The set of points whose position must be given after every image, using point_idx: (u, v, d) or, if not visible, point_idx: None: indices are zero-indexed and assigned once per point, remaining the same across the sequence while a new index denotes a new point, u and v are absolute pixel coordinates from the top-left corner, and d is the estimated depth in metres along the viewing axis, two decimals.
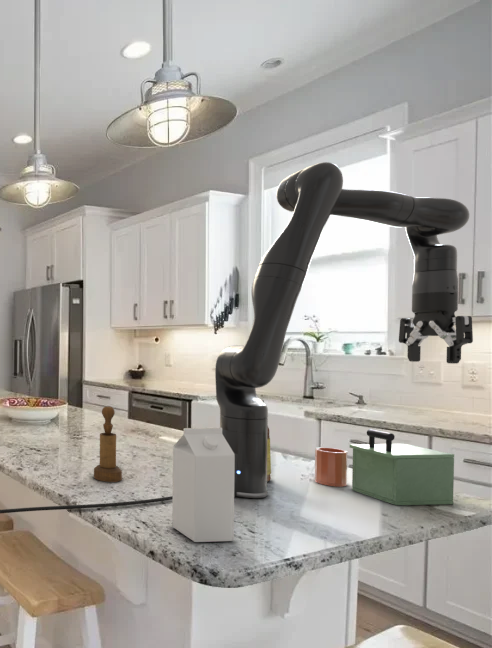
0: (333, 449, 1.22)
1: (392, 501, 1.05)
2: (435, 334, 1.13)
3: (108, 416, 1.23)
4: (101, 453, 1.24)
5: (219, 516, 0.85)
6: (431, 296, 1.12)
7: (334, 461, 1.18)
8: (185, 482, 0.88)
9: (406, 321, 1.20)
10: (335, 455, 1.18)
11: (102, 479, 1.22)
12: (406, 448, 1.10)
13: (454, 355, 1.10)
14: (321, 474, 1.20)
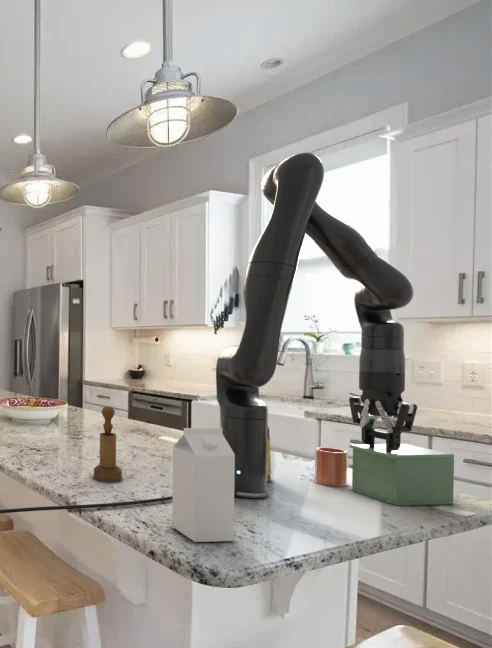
0: (333, 449, 1.22)
1: (392, 501, 1.05)
2: (379, 414, 1.09)
3: (108, 416, 1.23)
4: (101, 453, 1.24)
5: (219, 516, 0.85)
6: (377, 376, 1.07)
7: (334, 461, 1.18)
8: (185, 482, 0.88)
9: (355, 400, 1.15)
10: (335, 455, 1.18)
11: (102, 479, 1.22)
12: (406, 448, 1.10)
13: (393, 442, 1.06)
14: (321, 474, 1.20)
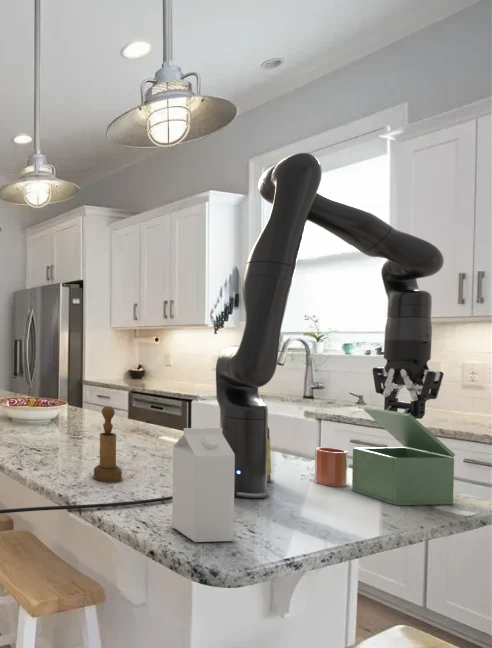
0: (333, 449, 1.22)
1: (392, 501, 1.05)
2: (403, 383, 1.09)
3: (108, 416, 1.23)
4: (101, 453, 1.24)
5: (219, 516, 0.85)
6: (403, 344, 1.07)
7: (334, 461, 1.18)
8: (185, 482, 0.88)
9: (378, 370, 1.15)
10: (335, 455, 1.18)
11: (102, 479, 1.22)
12: None
13: (418, 410, 1.06)
14: (321, 474, 1.20)
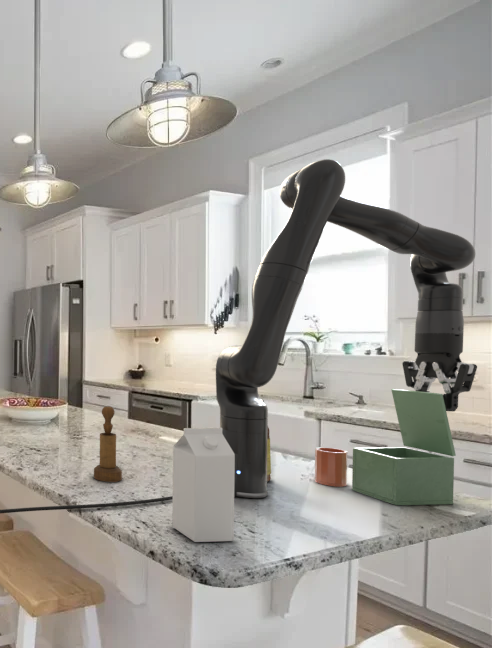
0: (333, 449, 1.22)
1: (392, 501, 1.05)
2: (435, 376, 1.09)
3: (108, 416, 1.23)
4: (101, 453, 1.24)
5: (219, 516, 0.85)
6: (435, 337, 1.07)
7: (334, 461, 1.18)
8: (185, 482, 0.88)
9: (409, 364, 1.15)
10: (335, 455, 1.18)
11: (102, 479, 1.22)
12: None
13: (451, 403, 1.06)
14: (321, 474, 1.20)
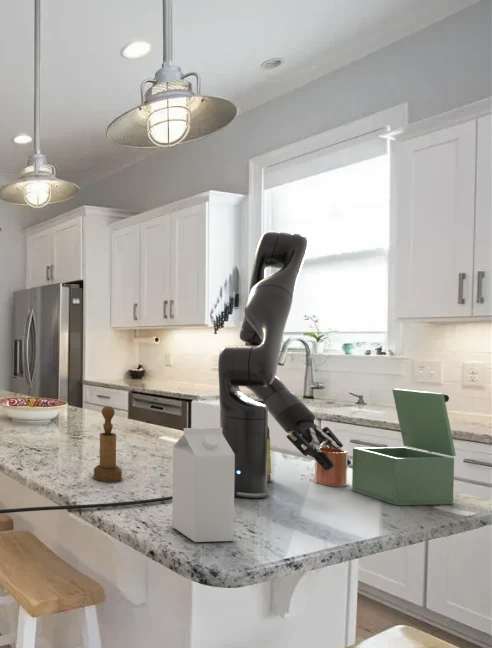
0: (333, 449, 1.22)
1: (392, 501, 1.05)
2: (322, 439, 1.23)
3: (108, 416, 1.23)
4: (101, 453, 1.24)
5: (219, 516, 0.85)
6: None
7: (334, 461, 1.18)
8: (185, 482, 0.88)
9: None
10: (335, 455, 1.18)
11: (102, 479, 1.22)
12: None
13: None
14: (321, 474, 1.20)
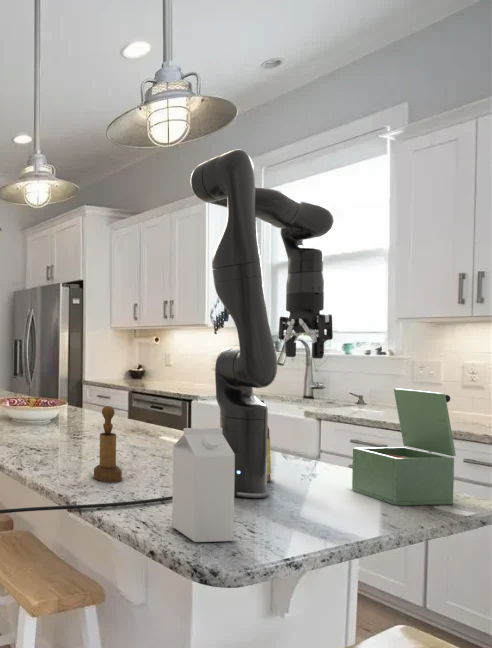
0: (396, 456, 1.11)
1: (392, 501, 1.05)
2: (304, 331, 1.22)
3: (108, 416, 1.23)
4: (101, 453, 1.24)
5: (219, 516, 0.85)
6: (299, 296, 1.21)
7: None
8: (185, 482, 0.88)
9: (284, 319, 1.29)
10: None
11: (102, 479, 1.22)
12: None
13: (318, 350, 1.19)
14: None
